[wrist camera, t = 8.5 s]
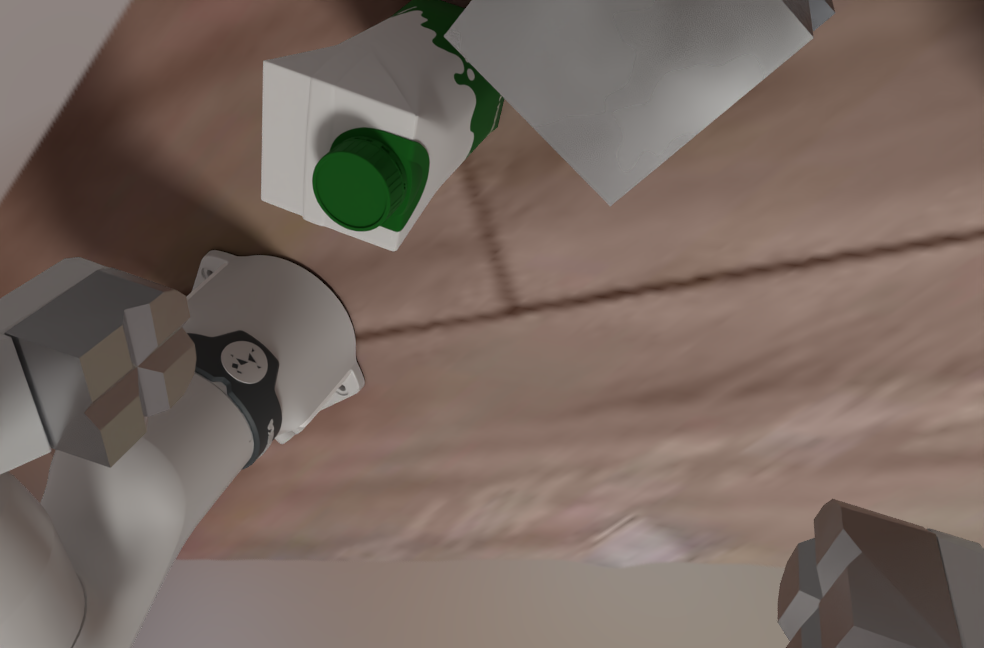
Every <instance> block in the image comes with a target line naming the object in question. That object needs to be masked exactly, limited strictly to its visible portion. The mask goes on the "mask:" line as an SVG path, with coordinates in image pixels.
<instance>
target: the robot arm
mask: <svg viewBox="0 0 984 648" xmlns="http://www.w3.org/2000/svg"><path fill="white" fill-rule="evenodd" d="M363 386H364V377H363V375H362V372H361V370H360V367H359V365H358V363H357V360H356V340H355V334H354V329H353V326H352V323H351V321H350V318H349V316H348V314H347V312H346V310H345V309H344V307H343V305H342V304H341V302H340V301H339V300H338V298H337V297H336V296H335V295H334V293H333V292H332V291H331V290H330V289H329V288H328V287H327V286H326V285H325V284H324V283H323V282H322V281H320V280H319V279H318V278H317V277H316V276H314V275H313V274H311V273H310V272H309V271H307V270H305V269H304V268H302V267H300V266H298V265H296V264H294V263H292V262H290V261H287V260H284V259H281V258H278V257H273V256H267V255H253V256H235V255H232V254H229V253H226V252H222V251H218V250H211V251H209V252H208V253H207V254H206V255H205V256H204V257H203V258H202V260H201V263H200V267H199V270H198V273H197V276H196V279H195V282H194V286H193V289H192V292H191V293H190V294H189V295H188V296H187V297H186V296H185V295H183V294H182V293H180V292H179V291H177V290H175V289H172V288H169V287H166V286H164V285H161V284H158V283H155V282H152V281H149V280H146V279H143V278H141V277H138V276H135V275H132V274H129V273H126V272H123V271H120V270H118V269H115V268H109V267H106V266H103V265H100V264H98V263H95V262H92V261H89V260H86V259H84V258H81V257H76V258H67V259H63V260H62V261H60V262H59V263H57V264H55V265H54V266H52V267H51V268H49V269H47V270H46V271H44V272H42V273H41V274H39V275H38V276H36V277H34V278H33V279H31V280H30V281H28V282H26V283H25V284H23V285H22V286H20V287H18V288H17V289H15V290H13V291H12V292H10V293H9V294H7V295H5V296H4V297H2V298H1V299H0V648H132V646H133V644H134V642H135V640H136V638H137V636H138V633H139V631H140V629H141V627H142V625H143V623H144V621H145V619H146V616H147V614H148V612H149V610H150V608H151V606H152V604H153V602H154V600H155V598H156V596H157V594H158V592H159V590H160V588H161V586H162V584H163V582H164V580H165V578H166V576H167V574H168V572H169V570H170V568H171V567H172V565H173V563H174V561H175V559H176V557H177V556H178V554H179V552H180V550H181V549H182V547H183V545H184V544H185V542H186V540H187V539H188V537H189V536H190V534H191V533H192V532H193V530H194V529H195V527H196V526H197V525H198V523H199V522H200V521H201V519H202V518H203V517H204V516H205V514H206V513H207V512H208V511H209V509H210V508H211V507H212V506H213V504H214V503H215V502H216V500H217V499H218V498H219V497H220V495H221V494H222V493H223V492H224V490H225V489H226V488H227V487H228V485H229V484H230V483H231V482H232V480H233V479H234V478H235V477H236V476H237V474H238V473H239V472H240V471H241V470H242V469H245V468H247V467H249V466H250V465H252V464H253V463H254V462H255V461H256V459H258V458H259V457H260V456H261V455H263V453H264V452H265V451H266V450H267V449H268V447H269V446H270V445H271V443H272V441H273V440H274V438H275V439H276V440H277V441H278V442H279V443H281V444H284V443H286V442H287V441H288V440H289V439H291V438H292V437H293V436H294V435H295V434H298V433H300V432H301V431H302V430H303V429H304V428H305V427H306V425H307V424H308V423H309V422H310V421H311V420H312V419H313V418H314V417H315V415H316V414H317V413H318V412H319V411H320V410H322V409H325V408H327V407H329V406H331V405H333V404H335V403H337V402H339V401H342V400H344V399H346V398H348V397H350V396H352V395H354V394H356V393H358V392H359V391H360V390H361V389H362V388H363ZM51 448H53V449H56V452H55V454H54V456H53V459H52V463H51V466H50V470H49V476H48V481H47V486H46V489H45V492H44V495H43V498H42V500H41V503H39V502H38V501H37V500H36V499H35V497H34V496H33V495H32V494H31V493H30V492H29V491H28V490H27V489H26V487H25V486H23V484H22V483H20V481H18V480H17V479H16V478H15V477H14V476H13V475H12V474H11V473H10V472H9V470H12V469H14V468H16V467H18V466H20V465H22V464H24V463H27V462H29V461H31V460H34V459H36V458H38V457H40V456H42V455H45V454H47V453H49V452H51V451H52V450H51ZM814 532H815V538H813V539H810V540H807V541H804V542H801V543H799V544H798V545H797V546H796V548H795V550H794V551H793V553H792V555H791V556H790V558H789V560H788V561H787V564H786V567H785V570H784V574H783V577H782V580H781V583H780V589H779V597H778V623H779V625H780V626H781V628H782V630H783V631H784V633H785V635H786V636H787V638H788V639H789V641H790V642H789V644H788V645H787V647H786V648H984V549H983V547H982V546H981V545H980V544H979V543H976V542H973V541H969V540H966V539H963V538H959V537H956V536H953V535H950V534H946V533H943V532H940V531H936V530H933V529H930V528H929V529H925V528H924V527H922V526H919V525H915V524H912V523H909V522H906V521H903V520H899V519H896V518H893V517H890V516H886V515H883V514H880V513H877V512H874V511H870V510H867V509H864V508H861V507H857V506H854V505H851V504H848V503H845V502H841V501H838V500H835V499H832V500H830V501H829V502H827V503H826V504H825V505H823V507H822V508H821V510H820V511H819V513H818V514H817V516H816V517H815V519H814Z"/></svg>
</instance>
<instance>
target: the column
mask: <svg viewBox="0 0 984 648" xmlns="http://www.w3.org/2000/svg"><path fill="white" fill-rule="evenodd" d="M444 37H445V38H446V39H447V40H448V41H449V42H450V43H451V44H452V45H453V46H454V48H455V49H456V50H457V51H458V52H459V53H460V54H461V55H462V56H463V57H464V58H465V59H466V60H467V61H468V62H469V63H470V64H471V65H472V66H473V67H474V68H475V69H476V70H477V71H478V72H479V73H480V74H481V75H482V76H483V77H484V78H485V79H486V80H487V81H488V82H489V83H490V84H491V85H492V86H493V87H494V88H495V89H496V90H497V91H498V92H499V93H500V94H501V95H502V96H503V97H504V98H505V99H506V101H507V102H508V103H509V104H510V105H511V106H512V107H513V108H514V109H515V110H516V111H517V112H518V113H519V114H520V115H521V116H522V117H523V118H524V119H525V120H526V121H527V122H528V123H529V124H530V125H531V126H532V127H533V128H534V129H535V130H536V131H537V132H538V133H539V134H540V135H541V136H542V137H543V138H544V139H545V140H546V141H547V142H548V143H549V144H550V145H551V146H552V147H553V148H554V149H555V150H556V151H557V152H558V154H559V155H560V156H561V157H562V158H563V159H564V160H565V161H566V162H567V163H568V164H569V165H570V166H571V167H572V168H573V169H574V170H575V171H576V172H577V173H578V174H579V175H580V176H581V177H582V178H583V179H584V180H585V181H586V182H587V183H588V184H589V185H590V186H591V187H592V188H593V189H594V190H595V191H596V192H597V193H598V194H599V195H600V196H601V197H602V198H603V199H604V200H605V201H606V202H607V203H608V204H609V206H611V205H612V204H614V203H615V202H616V201H617V200H618V199H620V198H621V197H622V196H623V195H624V194H626V193H627V192H628V191H629V190H630V189H632V188H633V187H634V186H635V185H636V184H638V183H639V182H640V181H641V180H642V179H644V178H645V177H646V176H647V175H649V174H650V173H651V172H652V171H653V170H655V169H656V168H657V167H658V166H659V165H661V164H662V163H663V162H664V161H665V160H667V159H668V158H669V157H670V156H671V155H673V154H674V153H675V152H676V151H677V150H679V149H680V148H681V147H682V146H684V145H685V144H686V143H687V142H688V141H690V140H691V139H692V138H693V137H694V136H696V135H697V134H698V133H699V132H700V131H702V130H703V129H704V128H705V127H706V126H708V125H709V124H710V123H711V122H712V121H714V120H715V119H716V118H717V117H719V116H720V115H721V114H722V113H723V112H725V111H726V110H727V109H728V108H729V107H731V106H732V105H733V104H734V103H735V102H737V101H738V100H739V99H740V98H741V97H743V96H744V95H745V94H746V93H747V92H749V91H750V90H751V89H752V88H754V87H755V86H756V85H757V84H758V83H760V82H761V81H762V80H763V79H764V78H766V77H767V76H768V75H769V74H770V73H772V72H773V71H774V70H775V69H776V68H778V67H779V66H780V65H781V64H782V63H784V62H785V61H786V60H787V59H789V58H790V57H791V56H792V55H793V54H795V53H796V52H797V51H798V50H799V49H801V48H802V47H803V46H804V45H805V44H807V43H808V42H809V41H810V40H811V39H813V38H814V37H813V29H812V21H811V14H810V6H809V0H472V1H471V2H470V3H469V5H468V6H467V7H466V8H465V10H464V11H463V12H462V13H461V15H460V16H459V17H458V19H457V20H456V21H455V22H454V24H453V25H452V26H451V28H450V29H449V30H448V31H447V33H446V34H445V35H444Z"/></svg>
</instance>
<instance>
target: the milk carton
mask: <svg viewBox="0 0 984 648" xmlns="http://www.w3.org/2000/svg"><path fill="white" fill-rule="evenodd" d="M464 10H465V8H462V7H459V6H456V5H453V4H450V3H447V2H444V1H441V0H412V1H410V2H409V3H408V4H406V5H405V6H404V7H403V8H401V9H400V10H399V11H398V12H396V13H395V14H394V15H392V16H391V17H390V18H388V19H386V20H384V21H382V22H380V23H379V24H377V25H375V26H373V27H371V28H369V29H367V30H365V31H363V32H361V33H359V34H357V35H355V36H354V37H352V38H350V39H348V40H346V41H344V42H342V43H340V44H338V45H335V46H331V47H327V48H322V49H317V50H313V51H308V52H304V53H299V54H294V55H289V56H285V57H280V58H275V59H270V60H264V61H263V108H262V175H261V200H262V201H265V202H267V203H270V204H272V205H275V206H278V207H280V208H283V209H286V210H288V211H291V212H293V213H296V214H299V215H301V216H303V219H305V220H307V221H309V222H312V223H314V224H317V225H320V226H325V227H328V228H331V229H333V230H336V231H339V232H341V233H344V234H347V235H350V236H352V237H355V238H358V239H360V240H363V241H366V242H369V243H371V244H374V245H377V246H379V247H382V248H385V249H388V250H391V251H396V250H397V249H398V248H399V246H400V245H401V243H402V242H403V240H404V239H405V237H406V236H407V234H408V233H409V231H410V230H411V228H412V227H413V225H414V223H415V222H416V220H417V219H418V218H419V216H420V215H421V213H422V212H423V210H424V209H425V207H426V206H427V204H428V203H429V201H430V200H431V198H432V197H433V195H434V194H435V192H436V191H437V190H438V189H439V187H440V186H441V185H442V184H443V183H444V182H445V181H446V180H447V179H448V178H449V176H450V175H451V174H452V173H453V172H454V171H455V170H456V169H457V168H458V167H459V166H460V165H461V163H462V162H463V161H464V160H465V159H466V158H467V157H468V156H469V155H470V154H471V153H472V152H473V150H474V149H475V148H476V147H477V146H478V145H479V144H480V143H481V142H482V141H483V140H484V139H485V137H487V136H488V135H489V134H490V133H491V132H492V131H493V130H495V129H496V128H497V127H498V123H499V119H500V115H501V111H502V106H503V102H504V97H503V96H502V95H501V94H500V93H499V92H498V91H497V90H496V89H495V88H494V87H493V86H492V85H491V84H490V83H489V82H488V81H487V80H486V79H485V78H484V77H483V76H482V75H481V74H480V73H479V72H478V71H477V70H476V69H475V68H474V67H473V66H472V65H471V64H470V63H469V62H468V61H467V60H466V59H465V58H464V57H463V56H462V55H461V54H460V53H459V52H458V51H457V50H456V49H455V48H454V46H453V45H452V44H451V43H450V42H449V41H448V40H447V39H446V38H445V37H444V35H445V34H446V33H447V31H448V30H449V29H450V28H451V26H452V25H453V24H454V22H455V21H456V20H457V19H458V17H459V16H460V15H461V13H462V12H463V11H464Z"/></svg>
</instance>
